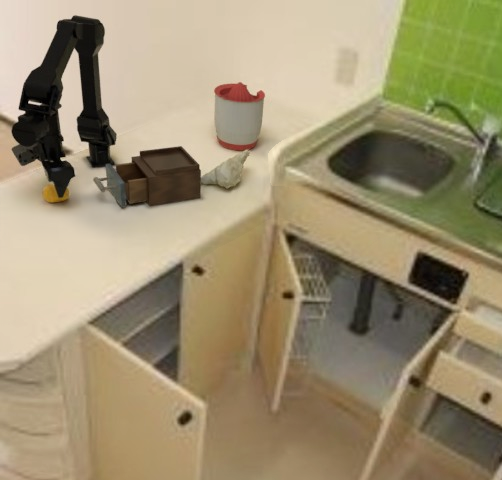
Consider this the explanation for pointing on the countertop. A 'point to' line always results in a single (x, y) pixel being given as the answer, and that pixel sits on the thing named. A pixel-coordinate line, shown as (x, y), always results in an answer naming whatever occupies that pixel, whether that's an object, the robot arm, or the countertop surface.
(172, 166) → the dark brown shallow tray
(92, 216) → the countertop surface
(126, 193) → the drawer
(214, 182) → the white conch shell
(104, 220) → the countertop surface
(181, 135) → the countertop surface
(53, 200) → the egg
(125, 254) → the countertop surface
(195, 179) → the cabinet
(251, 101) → the citrus juicer
